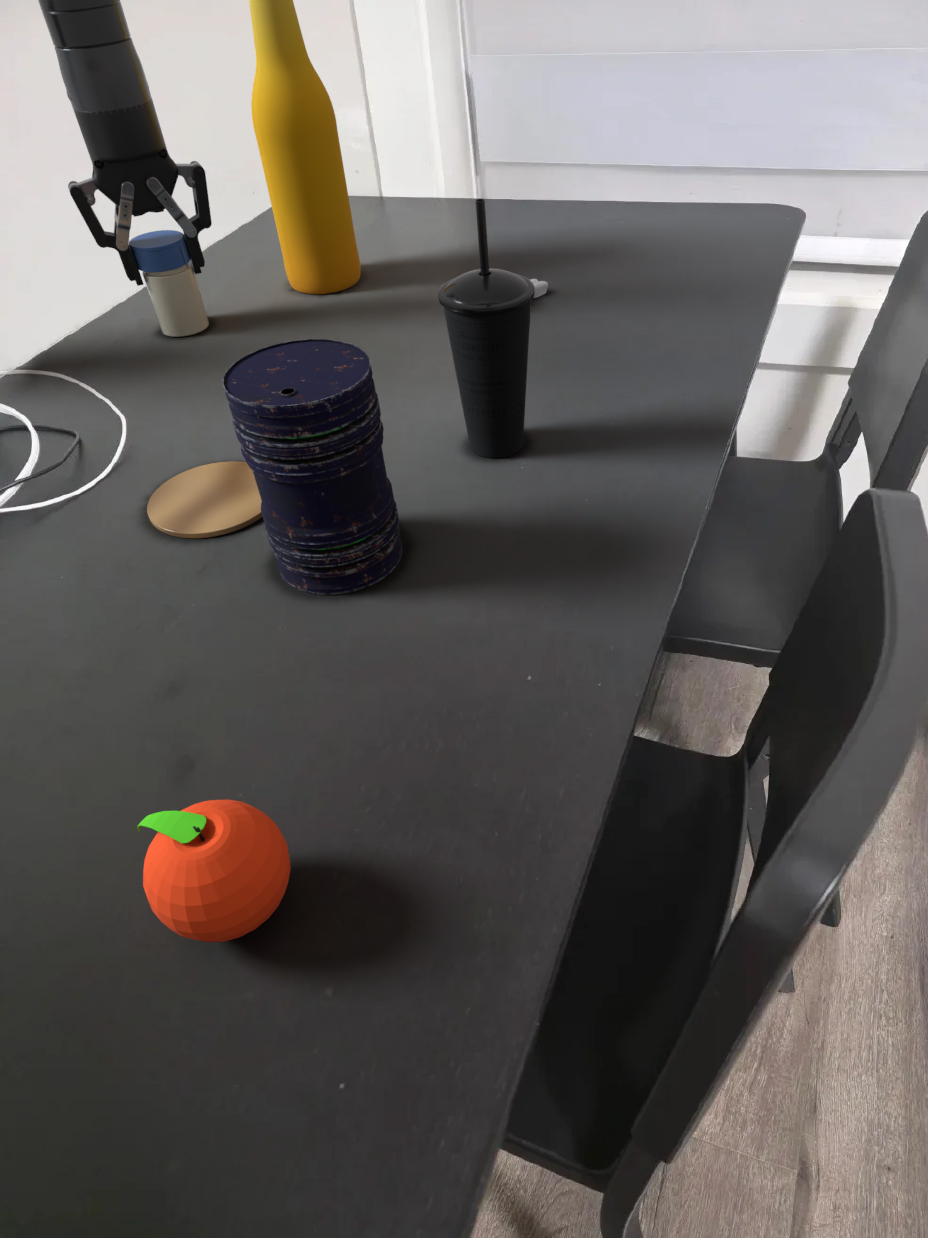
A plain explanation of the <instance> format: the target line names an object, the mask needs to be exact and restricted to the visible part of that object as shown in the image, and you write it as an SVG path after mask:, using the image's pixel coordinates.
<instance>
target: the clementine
mask: <svg viewBox="0 0 928 1238" xmlns="http://www.w3.org/2000/svg"><path fill="white" fill-rule="evenodd" d="M141 827H145V828H148V829H152V830H153V831H156V834H155V836H154V837H153V839H152V841H151V842H150V844H149V845H148V848H147V851H146V855H145V858H144V861H143V871H142V872H143V873H142V886H143V890H144V893H145V895H146V898H147V899H146V900H147V901H148V904H149V906H150V909H151V911H152V913H153V914H154V915H155V916H156V917H157V919H158V920H159V921H160V922H161V923H162V924H163V925H165V926H166V928H168V930H170V931H172V932H173V933H175V934H177V935H179V936H181V937H182V938H186V939H190V940H194V941H199V942H204V943H223V942H227V941H231V940H234V939H235V940H236V939H239V938H241V937H243V936H245V935H247V934H248V933H250V932H253V931H254V930H256V929H258V928H259V927H260V926H261V925H263V923H265V922H266V921H268V919H269V918H270V917H271V916H272V915H273V913H274V912H275V911H276V910H277V908H278V907H279V906H280V904H281V902H282V900H283V898H284V896H285V894H286V891H287V887H288V885H289V880H290V874H291V860H290V859H291V858H290V852H289V848H288V842H287V841H286V838H285V837H284V834H283V833H282V831H281V830H280V828H279V827H278V825H277V824H276V823H275V821H274V820H273V819H272V818H271V817H269V816H268V815H267V814H266V813H265V812H264V811H262V810H261V809H259V808H257V807H254V806H252V805H250V804H248V803H246V802H244V801H239V800H235V799H209V800H204V801H200V802H198V803H194V804H191V805H190V806H188V807H185V808H183V809H181V810H163V811H158V812H154V813H151V814H148V815H146V816H145V817H144V818H143V819H142V820H141V821H140V822H139V823H138V825H137V826H136V829H137V833H138V834H140V833H141Z"/></svg>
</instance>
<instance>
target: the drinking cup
mask: <svg viewBox="0 0 928 1238" xmlns="http://www.w3.org/2000/svg"><path fill="white" fill-rule="evenodd" d="M475 212H476V213H475V214H476V227H477V240H478V241H477V242H478V253H479V255H478V256H479V267H480V268H477V269H473V270H470V271H466V272H464V273H462V274H461V275H460V274H459V275H458V276H456V277H453V278H451V279H450V280H447V281H446V282H444V283H443V284H442V285H441V286H440V287H439V289H438V292H437V299H438V302H439V304H440V305H441V307H442V308H443V312H444V318H445V325H446V329H447V334H448V339H449V344H450V349H451V355H452V360H453V365H454V370H455V371H454V372H455V375H456V380H457V386H458V391H459V397H460V400H461V407H462V412H463V417H464V422H465V428H466V433H467V438H468V439H467V440H468V443H469V444H468V445H469V448H470V450H471V451H472V452H473V453H474V454H475V455H477V456H479V457H483V458H488V459H501V458H506V457H509V456H512V455H514V454H517V453H518V452H519V451H520V450H521V449H522V447H523V445H524V434H525V418H526V417H525V416H526V415H525V414H526V397H527V382H528V381H527V377H528V363H529V362H528V361H529V346H530V345H529V343H530V328H531V327H530V326H531V309H532V307H531V306H532V300H533V299H534V298H533V297H534V294H535V288H534V285H533V283H532V282H531V281H530V280H531V279H529V278H528V277H526V276H523V275H521V274H518V273H515V272H512V271H509V270H505V269H502V268H494V267H493V268H492V267H490V263H489V262H490V261H489V260H490V259H489V246H488V230H487V215H486V214H487V213H486V199H484V198H477V199H475Z"/></svg>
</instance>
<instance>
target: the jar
mask: <svg viewBox="0 0 928 1238" xmlns="http://www.w3.org/2000/svg"><path fill="white" fill-rule="evenodd" d="M142 277H143V280H144V284H145V285H146V288H147V292H148V295H149V298H150V300H151V303H152V307H153V309H154V312H155V315H156V318H157V322H158V324H159V327H160V330H161V332H162V334H163V335H165V336H167V337H172V338H173V337H174V338H175V337H176V338H180V337H187V336H193V335H196V334H198V333H201V332H203V331H204V330H206V329H207V328H208V327H209V326H210V325H209V324H210V321H209V318H208V315H207V311H206V308H205V305H204V302H203V298H202V294H201V292H200V287H199V284H198V281H197V277H196V274H195V273H194V271H193V267H192V265H191V262H189V263H187V264H186V265H184V266H182V267H180V268H177V269H174V270H169V271H164V272H143V271H142Z"/></svg>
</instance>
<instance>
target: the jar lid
mask: <svg viewBox="0 0 928 1238" xmlns="http://www.w3.org/2000/svg"><path fill="white" fill-rule="evenodd" d="M129 246H130V248H131V249H132V252H133V255H134V257H135V260H136V263H137V266H138V269H139V271H141V272H142V273H143V272H164V271H169V270H174V269H177V268H180V267H182V266H184V265H186V264H187V263H190V260H191V258H190V255H189V252H188V248H187V245H186V242H185V238H184V232H183V231H179V230H175V229H173V230H172V229H164V230H163V229H162V230H154V231H149V232H144V233H142V234H139V235H136V236H134V237H133V238H131V239H129Z"/></svg>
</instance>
